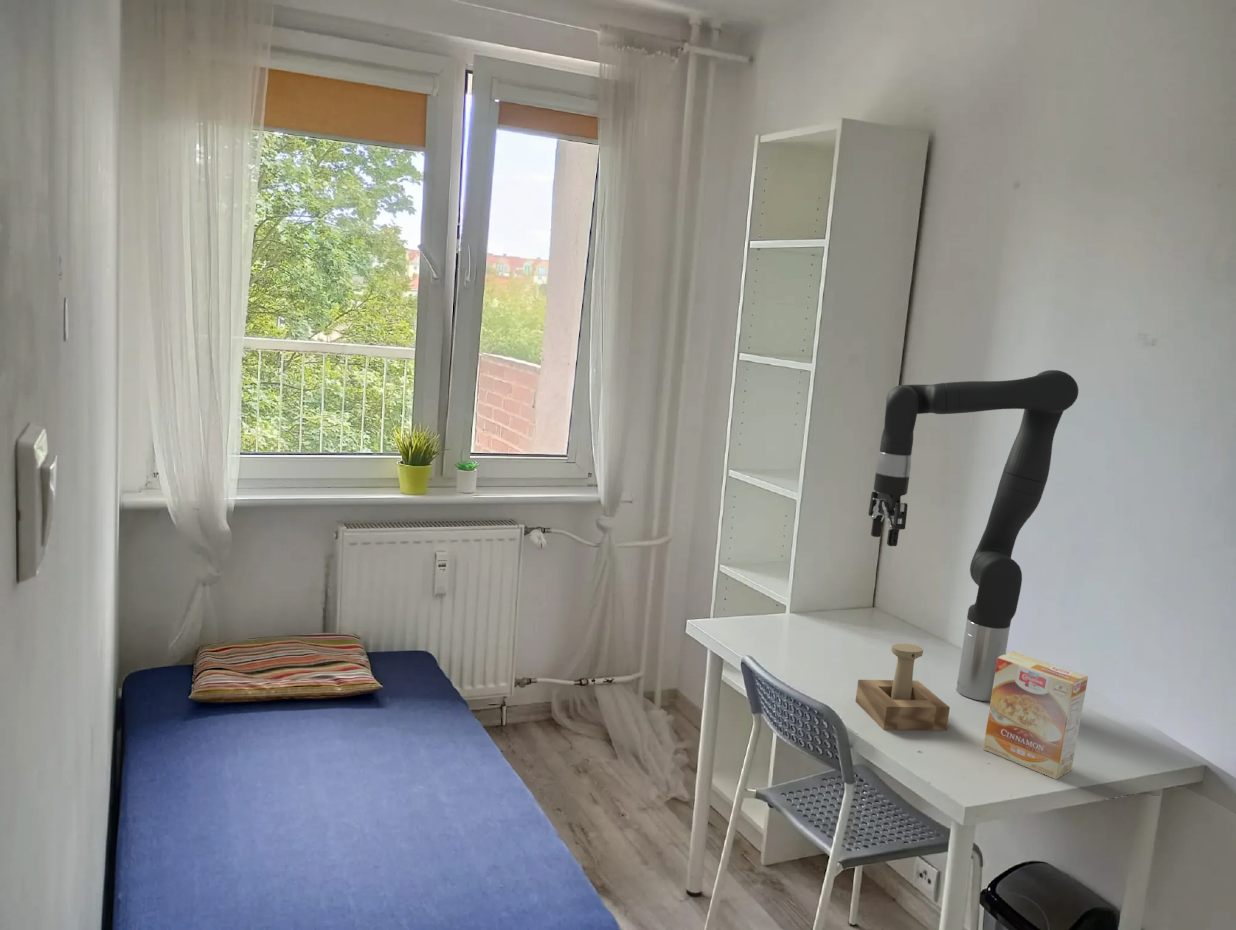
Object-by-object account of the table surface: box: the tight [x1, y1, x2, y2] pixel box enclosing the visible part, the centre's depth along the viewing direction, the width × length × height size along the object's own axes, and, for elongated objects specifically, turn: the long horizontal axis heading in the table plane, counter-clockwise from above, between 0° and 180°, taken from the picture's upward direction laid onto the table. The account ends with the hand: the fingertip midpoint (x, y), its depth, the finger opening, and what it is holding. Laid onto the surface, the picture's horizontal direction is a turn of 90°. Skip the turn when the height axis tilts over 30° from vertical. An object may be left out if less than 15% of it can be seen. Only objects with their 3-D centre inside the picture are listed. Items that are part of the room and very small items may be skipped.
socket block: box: [855, 679, 951, 731], centre depth 205 cm, size 14×14×5 cm
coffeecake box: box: [982, 651, 1089, 780], centre depth 187 cm, size 15×7×20 cm, turn 42°
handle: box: [891, 643, 924, 700], centre depth 204 cm, size 5×6×15 cm
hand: (883, 541), depth 223 cm, fingers open, 8 cm apart
